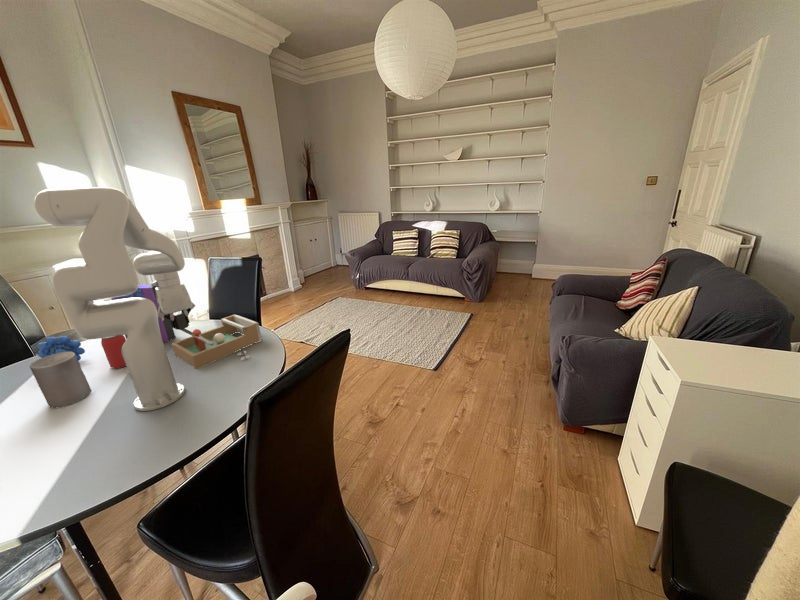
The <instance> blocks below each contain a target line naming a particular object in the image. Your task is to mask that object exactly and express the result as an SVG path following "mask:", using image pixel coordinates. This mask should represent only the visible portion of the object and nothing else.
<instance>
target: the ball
mask: <svg viewBox="0 0 800 600" xmlns="http://www.w3.org/2000/svg"><path fill="white" fill-rule="evenodd" d="M213 340H214V341H215V342H216V343H222V342H223V341H224V340H225V336H224V334H222V333H217V334H215V335H214V337H213Z"/></svg>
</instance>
